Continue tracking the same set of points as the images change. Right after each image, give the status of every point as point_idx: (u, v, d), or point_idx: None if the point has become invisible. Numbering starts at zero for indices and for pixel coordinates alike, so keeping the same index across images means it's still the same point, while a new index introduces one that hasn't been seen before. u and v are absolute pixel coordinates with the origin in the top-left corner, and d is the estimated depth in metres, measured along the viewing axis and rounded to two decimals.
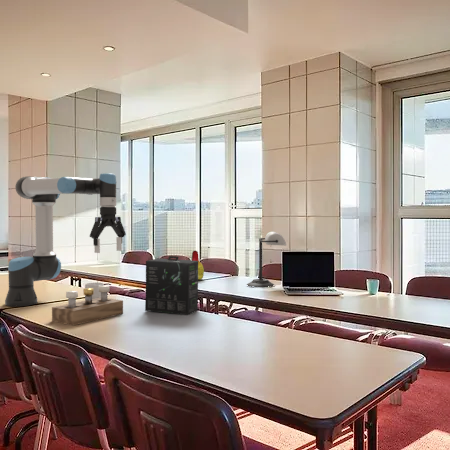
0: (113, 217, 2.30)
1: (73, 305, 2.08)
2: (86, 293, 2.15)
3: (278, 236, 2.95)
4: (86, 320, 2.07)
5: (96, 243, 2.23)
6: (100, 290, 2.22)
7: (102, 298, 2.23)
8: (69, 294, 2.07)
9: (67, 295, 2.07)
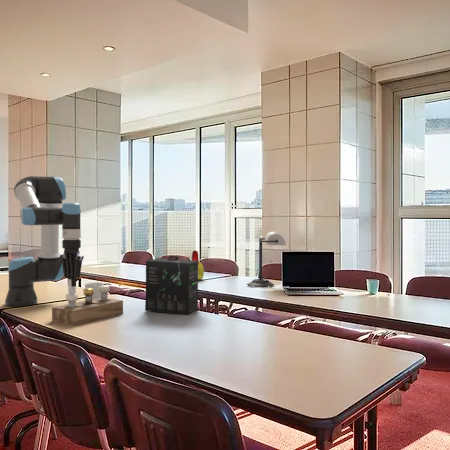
0: (73, 250, 2.06)
1: None
2: (86, 293, 2.15)
3: (278, 236, 2.95)
4: (86, 320, 2.07)
5: None
6: (100, 290, 2.22)
7: (102, 298, 2.23)
8: (69, 297, 2.07)
9: (67, 298, 2.07)
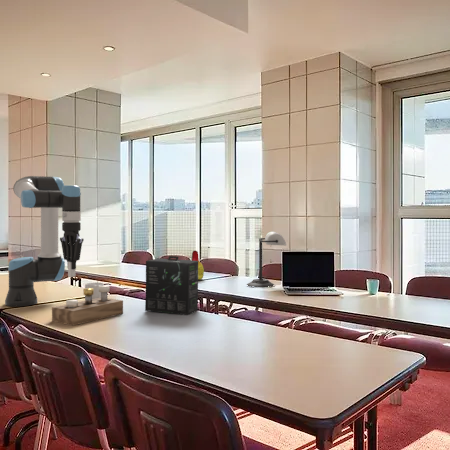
0: (73, 233, 2.06)
1: None
2: (86, 293, 2.15)
3: (278, 236, 2.95)
4: (86, 320, 2.07)
5: (68, 266, 2.09)
6: (100, 290, 2.22)
7: (102, 298, 2.23)
8: (69, 303, 2.07)
9: (67, 304, 2.08)
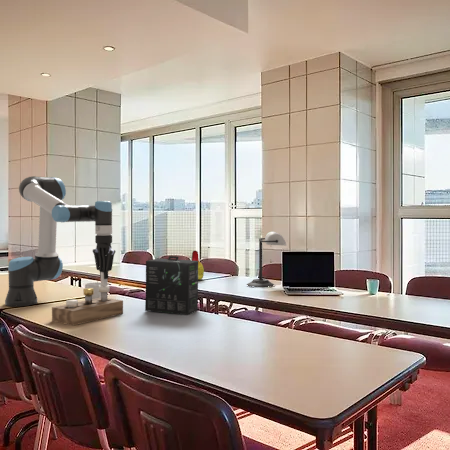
0: (106, 245, 2.21)
1: None
2: (86, 293, 2.15)
3: (278, 236, 2.95)
4: (86, 320, 2.07)
5: (100, 276, 2.24)
6: (100, 290, 2.22)
7: (102, 298, 2.23)
8: (69, 303, 2.07)
9: (67, 304, 2.08)
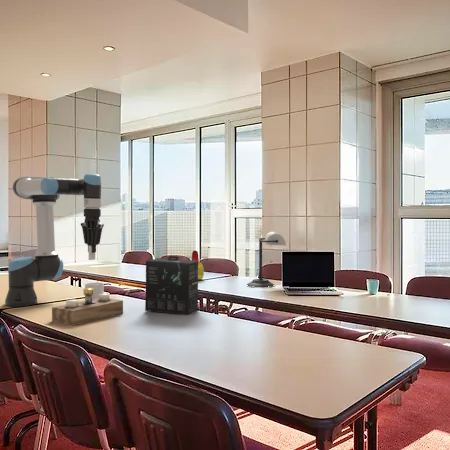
0: (94, 219, 2.21)
1: None
2: (86, 293, 2.15)
3: (278, 236, 2.95)
4: (86, 320, 2.07)
5: (88, 250, 2.24)
6: (100, 298, 2.22)
7: None
8: (69, 303, 2.07)
9: (67, 304, 2.08)
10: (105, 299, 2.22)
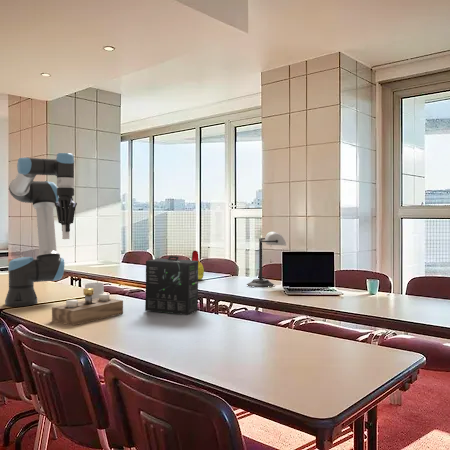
0: (67, 197, 2.20)
1: None
2: (86, 293, 2.15)
3: (278, 236, 2.95)
4: (86, 320, 2.07)
5: None
6: (100, 298, 2.22)
7: None
8: (69, 303, 2.07)
9: (67, 304, 2.08)
10: (105, 299, 2.22)
